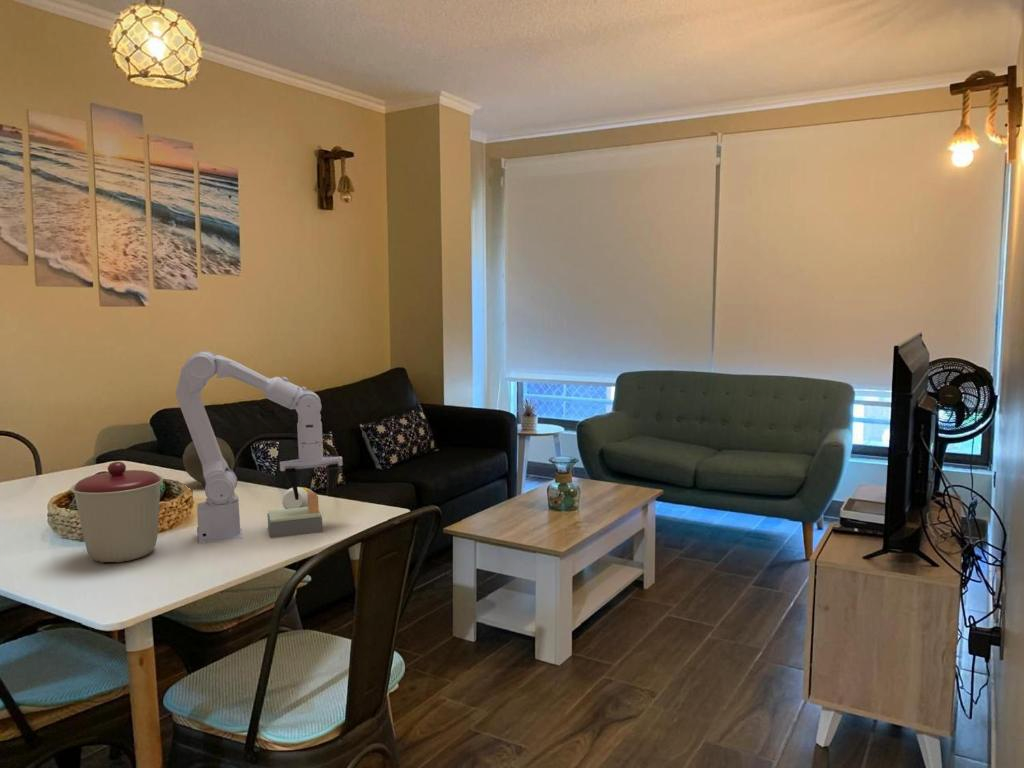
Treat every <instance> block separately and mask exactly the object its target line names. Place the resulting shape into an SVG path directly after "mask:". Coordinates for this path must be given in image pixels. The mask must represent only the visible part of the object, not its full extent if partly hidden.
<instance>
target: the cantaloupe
mask: <svg viewBox="0 0 1024 768" xmlns="http://www.w3.org/2000/svg"><path fill="white" fill-rule="evenodd" d="M215 437H216V440H217V443H218V445H219V448H220V451H221V453H222V456H223V458H224V459H225V461H226V462H227V465H228V467H229V469H230V470H231V471H232V472H233V473H234V467H235V456H234V453H233V451H232V449H231V447H230V445H229V444H228V443H227V442H226V441H225V440H224V439H222V438H220V437H217V436H215ZM182 463H183V464H182V465H183V467H184V470H185V472H186V473H187V475H189V476H190V477H191V478H192V479H194V480H195V481H196V482H198V483H200V484H203V485H205V486H206V482H205V479H204V475H203V467H202V464H201V461H200V458H199V456H198V453H197V450H196V448H195V445H194V442H193V440H192V441H191V442H190V443H189V444H188V445H187V446H186V447H185V449H184V452H183V454H182Z"/></svg>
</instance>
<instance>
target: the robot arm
mask: <svg viewBox="0 0 1024 768" xmlns="http://www.w3.org/2000/svg"><path fill="white" fill-rule="evenodd" d="M215 375H216V376H215ZM214 376H215V377H216V378H217V379H222V378H224V379H225V378H233V379H235V380H237V381H239V382H242V383H244V384H246V385H248V386H251V387H253V388H256V389H258V390H260V391H262V392H263V393H264V396H265V398H266V399H268V400H270V401H271V402H274V403H276V404H279V405H280V406H282V407H285V408H287V409H289V410H295V411H296V413H297V421H298V422H297V423H296V427H297V428H296V429H297V431H296V432H297V447H298V450H297V451H298V458H297V459H291V460H284V461H279V470H280V472H284V473H285V475H286V477H287V479H288V481H289V483H290V485H291V488H293V491H294V495H295V500H299V497H298V489H297V487H298V474H297V470H301V469H302V470H303V469H314V468H323V467H324V468H325V470H326V471H325V472H326V494H327V495H326V496H327V497H332V492H333V486H334V482H335V479H336V477H337V474H338V472H339V470H340V468H339V467H342V466H343V464H344V463H343V457H342V456H324V444H323V441H324V440H323V422H322V421H321V419H322V415H321V411H322V409H323V408H322V403H321V402H322V401H321V398H320V396H319V395H318V394H317V393H315V392H314V391H313V390H310V389H309V390H308V389H307V387H306V386H302V387H301V386H299V385H296V384H294V383H292V382H290V381H289V378H287V377H285V376H282V377H279V376H274V377H272V378H269V377H267V376H265V375H263V374H261V373H259V372H257V371H256V370H253V369H251V368H249V367H247V366H245V365H243V364H242V363H240V362H237V361H235V360H234V359H232V358H228V357H226V356H224V355H220V354H215V353H213V352H212V351H210V350H202V351H198V352H196V353H195V354H193V355H190V356H189V358H188V359H187V360H186V361H185V362H184V364H183V365H182V367H181V369H180V375H179V379H178V383H177V387H176V390H175V397H176V400H177V402H178V405H179V407H180V411H181V413H182V415H183V419H184V421H185V424H186V425H187V429H188V431H189V434H190V437H191V440H192V441H193V442H194V445H195V448H196V450H197V453H198V456H199V458H200V461H201V464H202V467H203V475H204V479H205V482H206V485H205V487H204V493H205V496H206V499H205V501H204V502H199V503H197V504H196V513H197V527H196V533H197V535H198V543H199V544H204V543H214V542H223V541H231V540H239V539H243V529H242V528H241V517H240V501H239V500H240V499H239V498H240V497H239V496H238V495H237V494H236V492H235V489H236V488H237V485H238V477H237V475H236V474H235V472H234V471H233V472H232V471H231V470H230V469H229V467H228V465H227V462H226V461H225V459H224V458H223V456H222V453H221V451H220V448H219V445H218V443H217V440H216V437H217V436H216V435H215V431H214V429H213V427H212V425H211V422H210V421H211V420H210V418H209V416H208V413H207V411H206V408H205V405H204V402H203V400H202V397H201V393H202V391H203V389H204V388H205V386H206V385H207V382H208V381H210V380H211V378H213V377H214Z"/></svg>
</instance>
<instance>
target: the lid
mask: <svg viewBox="0 0 1024 768" xmlns="http://www.w3.org/2000/svg"><path fill="white" fill-rule="evenodd" d="M307 497H308V507H301V508H291V509H285V508H284V509H283V508H282V509H275V510H268V513H269V518H270V522H280V521H289V520H298V519H307V518H316V517H320V514H321V512H320V509H319V496H318V494H317V493H316V492H313V493H307ZM319 512H320V513H319Z"/></svg>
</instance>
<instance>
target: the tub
mask: <svg viewBox="0 0 1024 768" xmlns="http://www.w3.org/2000/svg"><path fill="white" fill-rule="evenodd" d="M319 513H320V517H316V518H307V519H298V520H289V521H280V522H270V518H269V512H268V513H267V516H266V517H267V530H268V533H269V534H268V535H269V539H274V538H283V537H290V536H302V535H307V534H308V535H309V534H317V533H318V534H319V533H323V531H324V530H323V516H322V514H321V512H320V511H319Z"/></svg>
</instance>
